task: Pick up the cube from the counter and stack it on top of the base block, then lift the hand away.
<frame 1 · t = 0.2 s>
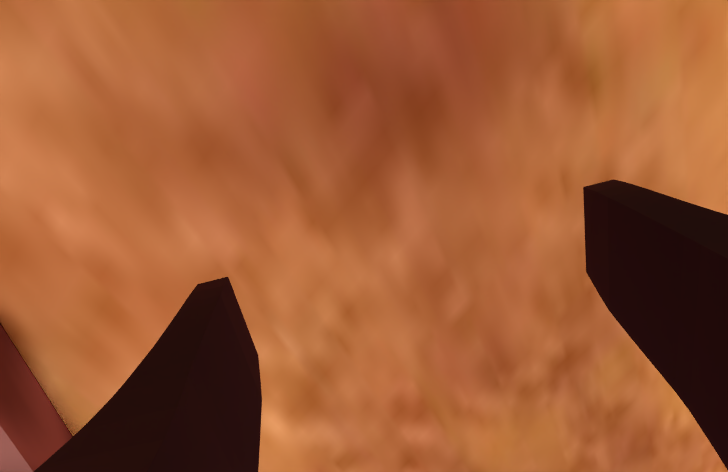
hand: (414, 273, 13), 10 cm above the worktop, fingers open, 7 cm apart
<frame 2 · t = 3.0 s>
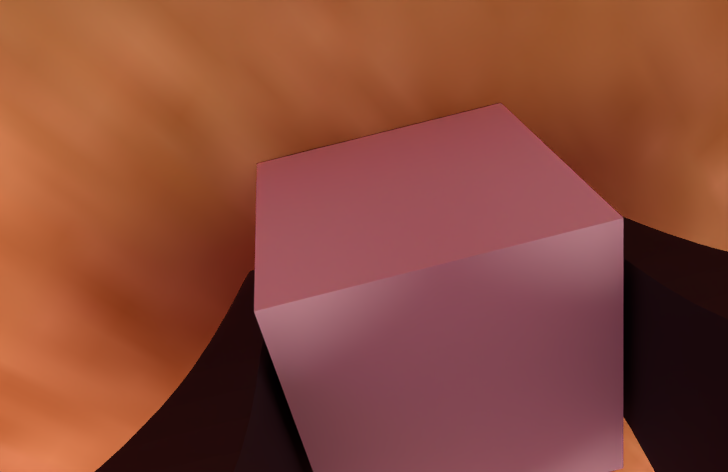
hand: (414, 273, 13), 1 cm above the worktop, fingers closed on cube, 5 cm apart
cube: (401, 238, 14), on the worktop, touching gripper
when the fingers open (5 cm above the worktop, at t = 6.3 s): cube stays where it is, resting on base.
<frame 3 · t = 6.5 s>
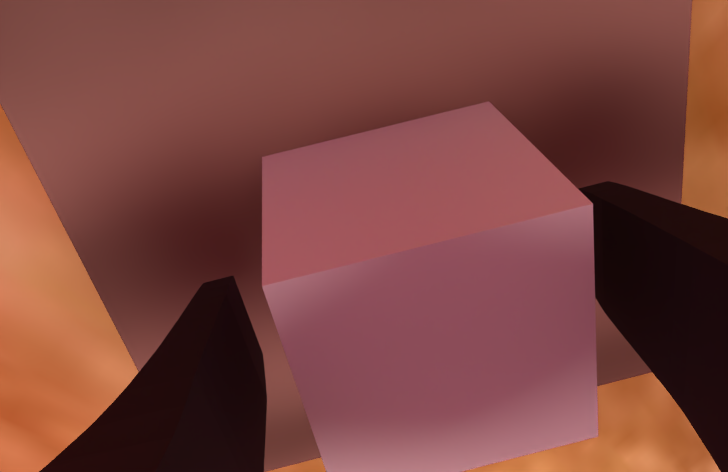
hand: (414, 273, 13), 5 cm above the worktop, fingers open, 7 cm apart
cube: (396, 228, 15), point 3 cm above the worktop, touching base
base: (374, 167, 17), on the worktop
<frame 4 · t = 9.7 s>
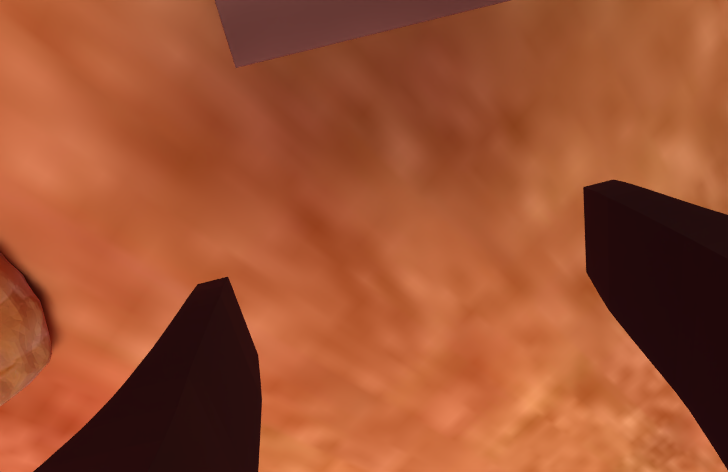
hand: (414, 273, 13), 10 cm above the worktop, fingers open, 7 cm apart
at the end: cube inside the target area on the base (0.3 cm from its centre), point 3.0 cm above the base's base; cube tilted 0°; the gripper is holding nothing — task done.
